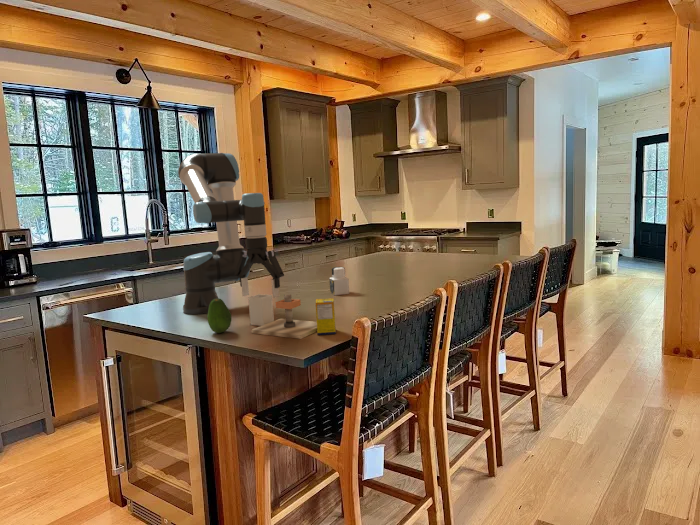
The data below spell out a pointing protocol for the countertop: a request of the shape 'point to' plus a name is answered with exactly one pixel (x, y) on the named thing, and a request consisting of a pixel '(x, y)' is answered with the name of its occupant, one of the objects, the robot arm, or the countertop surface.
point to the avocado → (218, 316)
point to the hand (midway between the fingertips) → (260, 296)
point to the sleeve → (261, 309)
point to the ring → (288, 304)
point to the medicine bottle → (339, 281)
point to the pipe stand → (287, 325)
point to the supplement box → (325, 316)
